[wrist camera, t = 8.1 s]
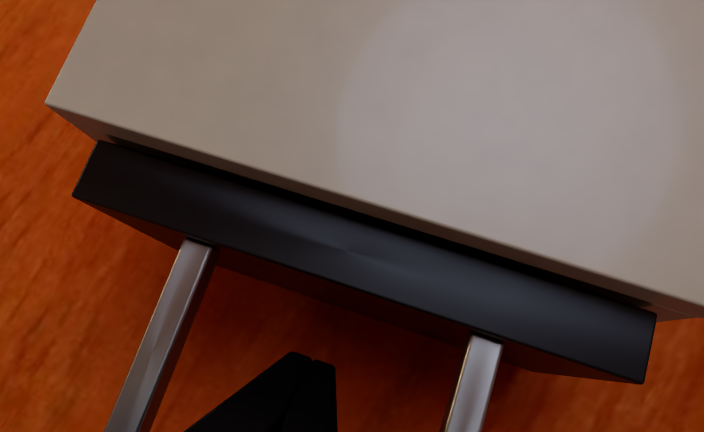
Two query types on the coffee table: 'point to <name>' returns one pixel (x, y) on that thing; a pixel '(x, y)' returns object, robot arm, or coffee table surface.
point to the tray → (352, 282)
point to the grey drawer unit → (432, 120)
